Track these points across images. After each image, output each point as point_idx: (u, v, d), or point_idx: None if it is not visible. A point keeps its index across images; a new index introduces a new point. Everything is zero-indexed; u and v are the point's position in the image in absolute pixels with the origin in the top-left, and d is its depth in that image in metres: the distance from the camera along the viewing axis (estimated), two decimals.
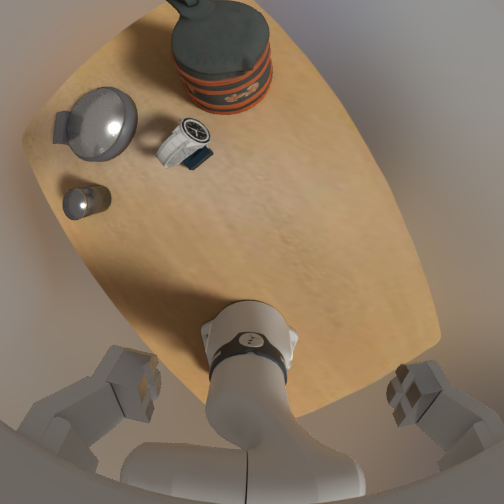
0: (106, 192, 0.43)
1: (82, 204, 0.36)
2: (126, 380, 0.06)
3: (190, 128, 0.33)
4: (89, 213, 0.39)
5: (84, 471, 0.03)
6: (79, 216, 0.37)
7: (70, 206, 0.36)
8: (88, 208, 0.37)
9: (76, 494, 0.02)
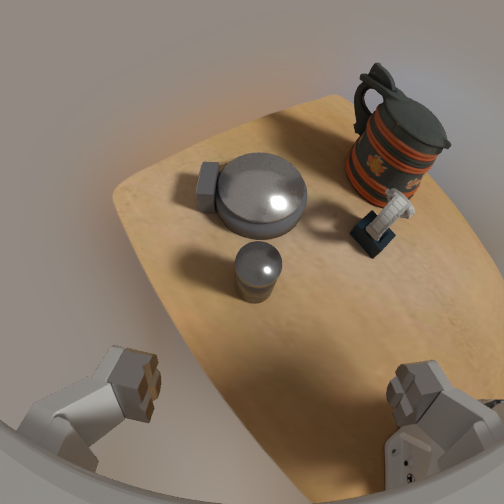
0: None
1: (277, 263, 0.29)
2: (126, 380, 0.06)
3: None
4: (272, 285, 0.31)
5: (84, 471, 0.03)
6: (270, 280, 0.29)
7: (252, 264, 0.29)
8: None
9: (76, 494, 0.02)
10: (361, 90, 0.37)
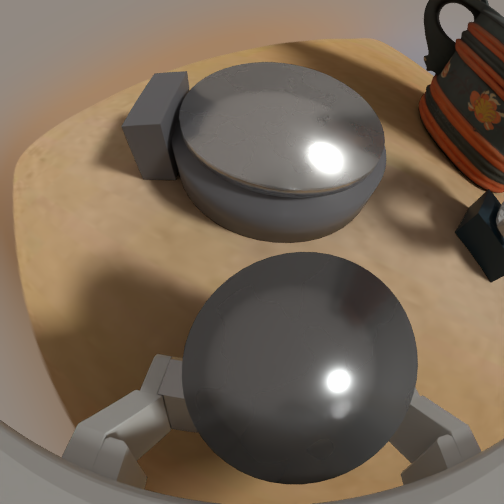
0: None
1: (402, 363, 0.05)
2: (179, 391, 0.06)
3: None
4: None
5: (84, 471, 0.03)
6: (366, 451, 0.04)
7: (279, 385, 0.05)
8: None
9: (76, 494, 0.02)
10: (436, 4, 0.13)
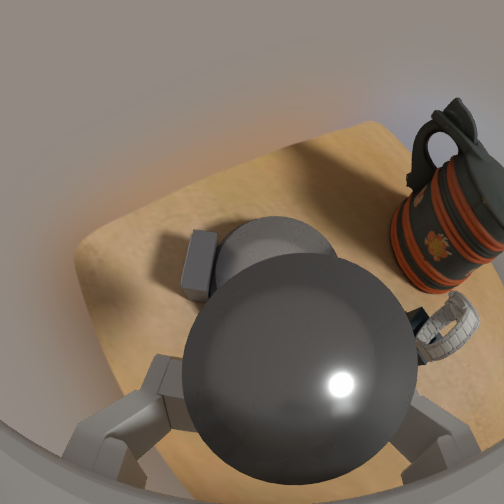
0: None
1: (402, 364, 0.05)
2: (179, 391, 0.06)
3: None
4: None
5: (84, 470, 0.03)
6: (366, 452, 0.04)
7: (279, 386, 0.05)
8: None
9: (76, 494, 0.02)
10: (427, 132, 0.25)
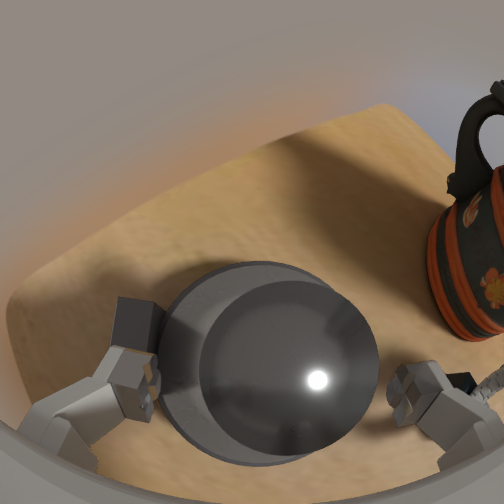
0: None
1: (365, 366, 0.07)
2: (126, 380, 0.06)
3: None
4: None
5: (84, 471, 0.03)
6: (337, 433, 0.06)
7: (270, 379, 0.07)
8: None
9: (76, 494, 0.02)
10: (481, 114, 0.13)
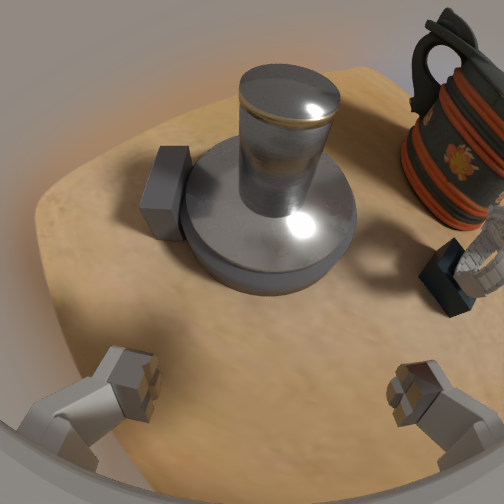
0: None
1: (330, 90, 0.12)
2: (126, 380, 0.06)
3: None
4: (319, 145, 0.13)
5: (84, 471, 0.03)
6: (321, 109, 0.11)
7: (278, 86, 0.11)
8: None
9: (76, 494, 0.02)
10: (424, 46, 0.18)
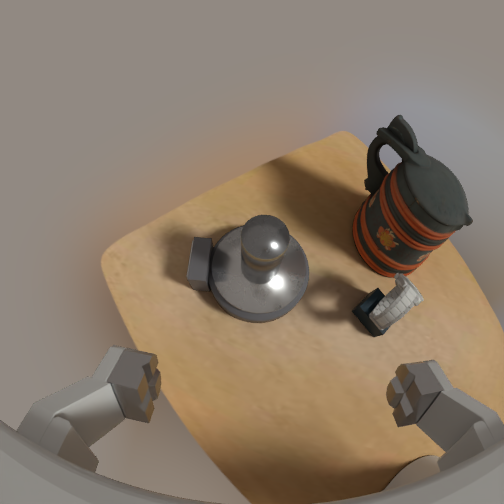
0: None
1: (285, 236, 0.28)
2: (126, 380, 0.06)
3: None
4: (279, 261, 0.30)
5: (84, 471, 0.03)
6: (277, 253, 0.28)
7: (259, 237, 0.28)
8: None
9: (76, 494, 0.02)
10: (377, 145, 0.35)
